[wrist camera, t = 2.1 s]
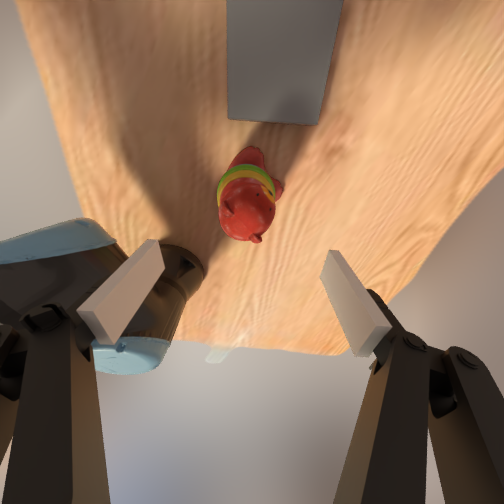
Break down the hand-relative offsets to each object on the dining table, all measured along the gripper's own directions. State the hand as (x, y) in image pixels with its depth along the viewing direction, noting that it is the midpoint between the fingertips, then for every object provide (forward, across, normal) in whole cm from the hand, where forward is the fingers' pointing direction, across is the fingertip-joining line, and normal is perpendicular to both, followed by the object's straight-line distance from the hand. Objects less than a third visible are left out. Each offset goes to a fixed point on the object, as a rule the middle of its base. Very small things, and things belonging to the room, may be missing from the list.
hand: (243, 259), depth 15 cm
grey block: (+25, +3, +17) cm, 30 cm away
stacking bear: (+25, 0, 0) cm, 25 cm away
